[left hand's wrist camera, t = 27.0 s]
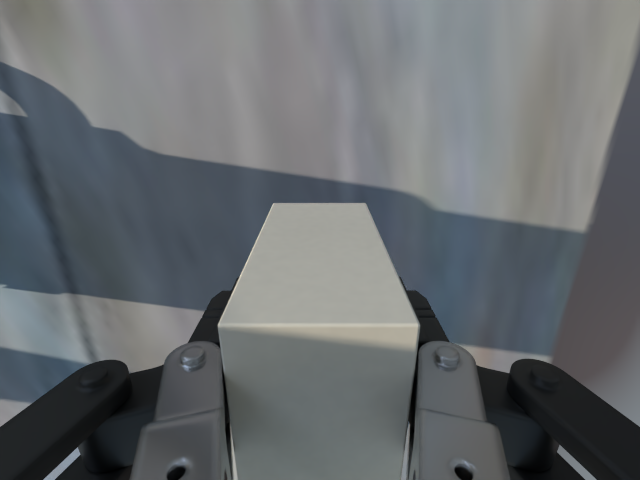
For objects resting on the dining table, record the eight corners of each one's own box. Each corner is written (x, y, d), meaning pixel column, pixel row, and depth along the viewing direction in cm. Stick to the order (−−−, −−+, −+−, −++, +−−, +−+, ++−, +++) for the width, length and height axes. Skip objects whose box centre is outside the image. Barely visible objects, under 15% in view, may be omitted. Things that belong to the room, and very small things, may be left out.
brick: (277, 299, 17) (238, 488, 9) (272, 202, 15) (216, 324, 7) (361, 299, 17) (400, 488, 9) (366, 202, 15) (422, 324, 7)
